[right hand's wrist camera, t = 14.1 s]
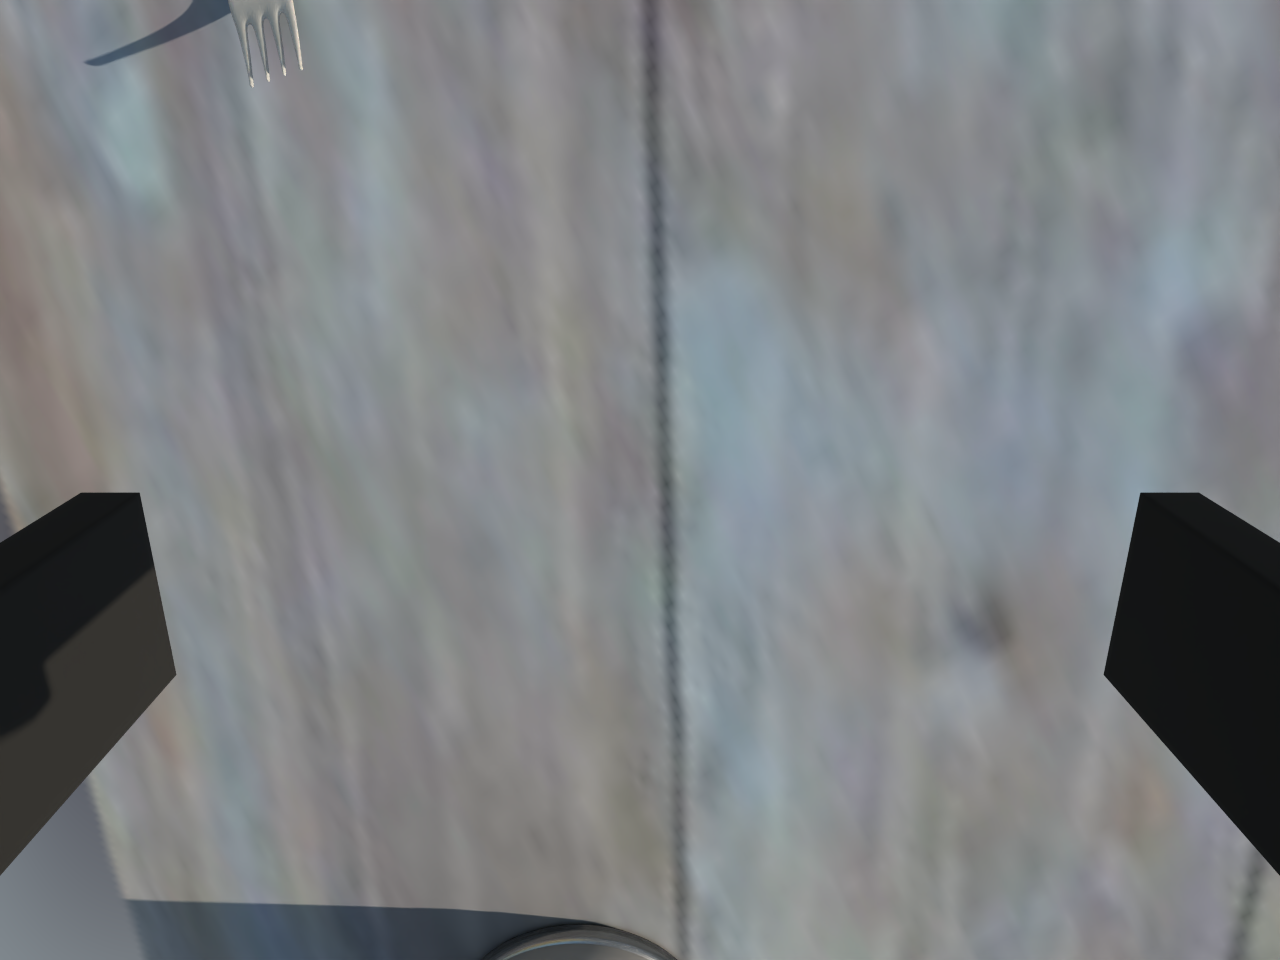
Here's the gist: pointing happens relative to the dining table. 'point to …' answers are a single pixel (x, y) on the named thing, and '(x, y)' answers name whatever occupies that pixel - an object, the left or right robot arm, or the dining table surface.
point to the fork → (252, 6)
